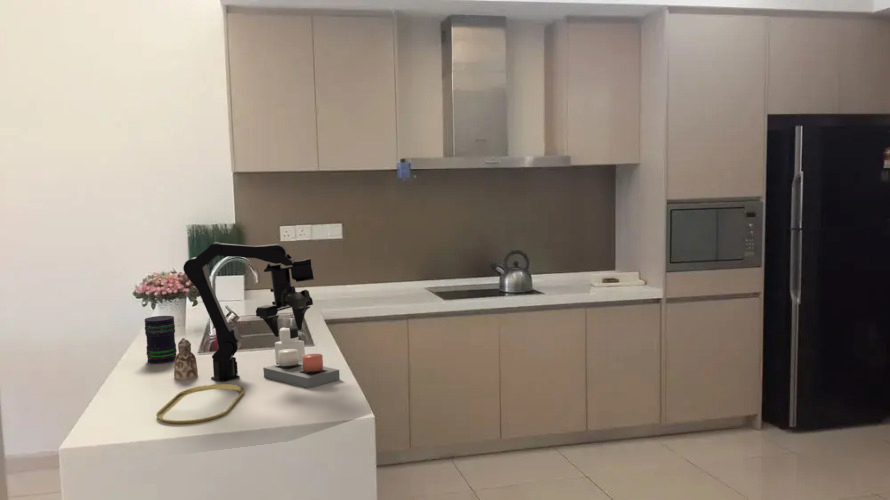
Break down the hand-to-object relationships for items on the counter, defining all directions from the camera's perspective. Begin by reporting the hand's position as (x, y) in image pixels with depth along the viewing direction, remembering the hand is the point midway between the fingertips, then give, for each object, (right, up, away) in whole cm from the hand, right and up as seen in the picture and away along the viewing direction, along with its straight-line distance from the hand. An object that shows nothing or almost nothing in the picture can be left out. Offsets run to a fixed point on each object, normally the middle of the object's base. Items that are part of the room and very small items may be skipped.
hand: (288, 333), depth 244 cm
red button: (+9, -10, -8) cm, 16 cm away
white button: (0, -10, 0) cm, 10 cm away
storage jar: (-49, -13, +27) cm, 58 cm away
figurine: (-33, -14, +4) cm, 36 cm away
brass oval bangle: (-18, -17, -29) cm, 38 cm away
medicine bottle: (-3, -12, +18) cm, 22 cm away
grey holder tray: (+5, -14, -4) cm, 15 cm away
